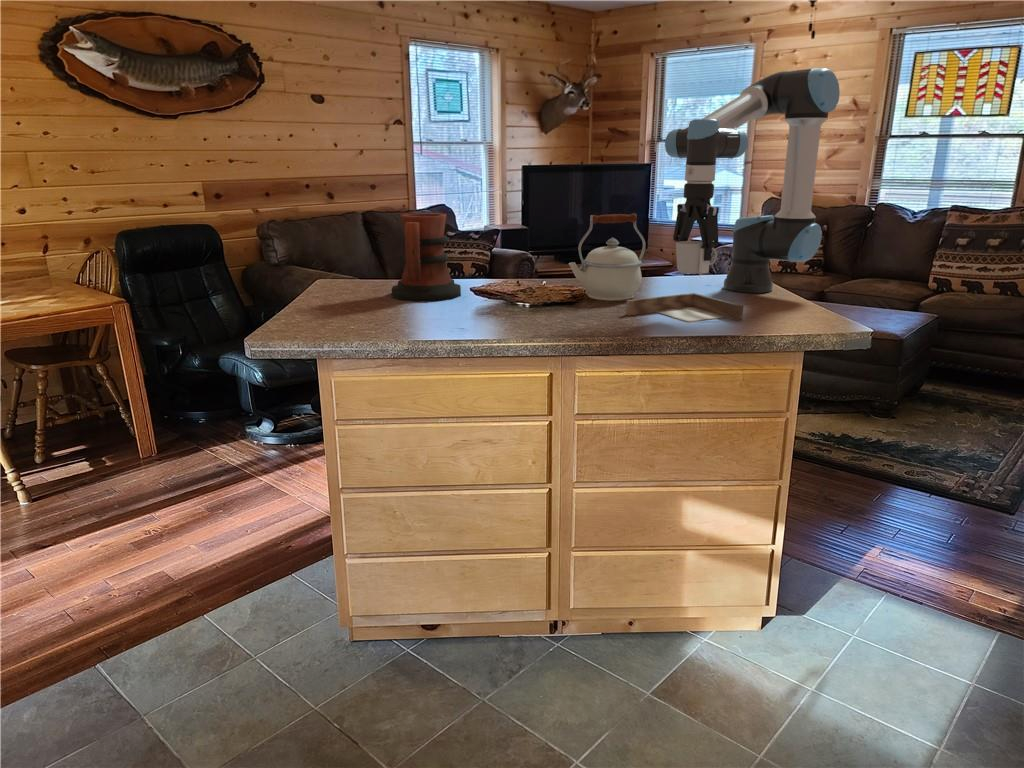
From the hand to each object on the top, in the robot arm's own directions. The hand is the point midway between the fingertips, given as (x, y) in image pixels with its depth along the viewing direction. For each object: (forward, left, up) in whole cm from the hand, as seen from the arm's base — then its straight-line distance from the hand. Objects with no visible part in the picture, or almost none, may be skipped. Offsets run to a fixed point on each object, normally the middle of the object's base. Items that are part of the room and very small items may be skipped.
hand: (692, 270), depth 196 cm
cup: (0, +1, -1) cm, 1 cm away
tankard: (+54, -60, -13) cm, 82 cm away
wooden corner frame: (+3, +1, -12) cm, 13 cm away
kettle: (+5, -33, -13) cm, 36 cm away
